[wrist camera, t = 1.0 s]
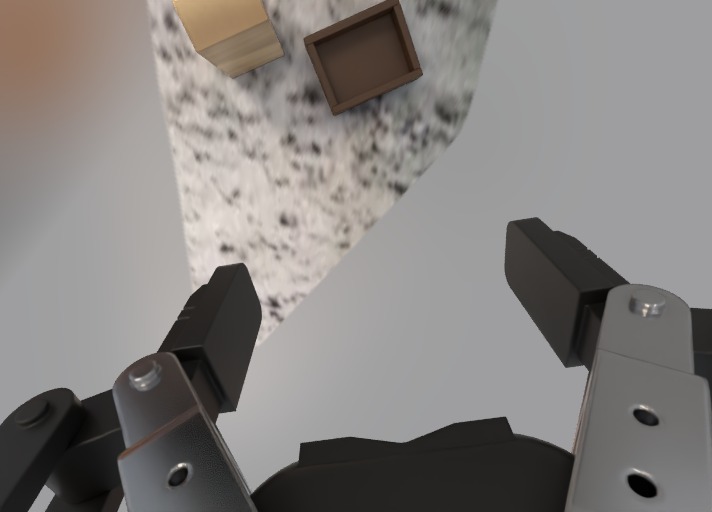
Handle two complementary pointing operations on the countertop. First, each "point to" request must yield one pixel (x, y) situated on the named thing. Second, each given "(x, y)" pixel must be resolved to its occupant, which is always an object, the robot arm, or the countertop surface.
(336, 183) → the countertop surface
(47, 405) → the robot arm
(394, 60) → the frame
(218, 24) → the block
